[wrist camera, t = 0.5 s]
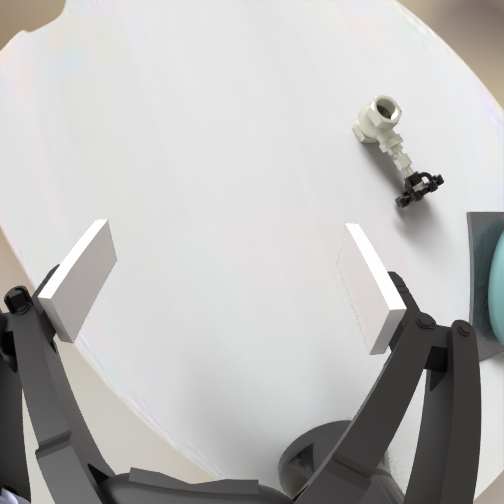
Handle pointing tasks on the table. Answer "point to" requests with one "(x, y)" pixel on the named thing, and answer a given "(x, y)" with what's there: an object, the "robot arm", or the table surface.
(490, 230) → the wheel stand
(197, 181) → the table surface
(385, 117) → the valve
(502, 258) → the handwheel
